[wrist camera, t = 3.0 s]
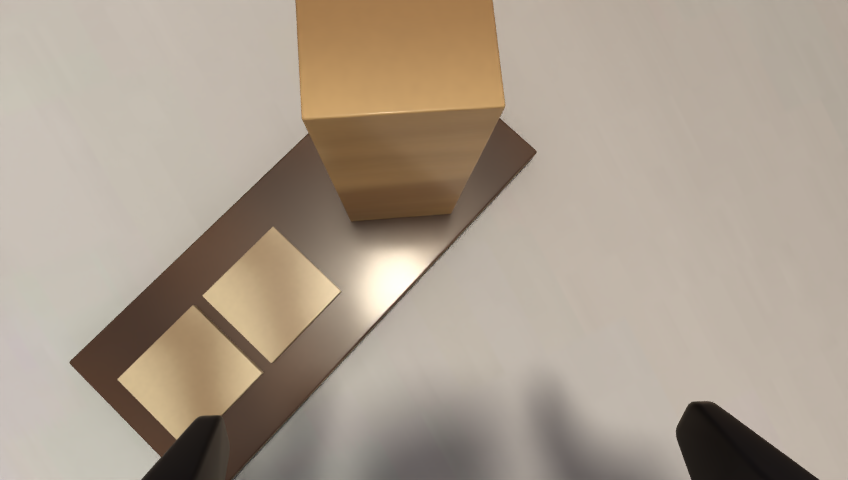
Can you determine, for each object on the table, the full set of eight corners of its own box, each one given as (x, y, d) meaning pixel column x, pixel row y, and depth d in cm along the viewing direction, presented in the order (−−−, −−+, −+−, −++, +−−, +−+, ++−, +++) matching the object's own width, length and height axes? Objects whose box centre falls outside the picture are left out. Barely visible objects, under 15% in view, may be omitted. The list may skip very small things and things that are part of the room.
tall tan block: (454, 213, 22) (511, 106, 11) (350, 221, 21) (301, 119, 10) (445, 118, 22) (489, -73, 11) (343, 125, 22) (291, -66, 11)
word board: (214, 498, 20) (204, 508, 19) (79, 361, 21) (62, 363, 19) (533, 156, 23) (540, 149, 22) (408, 45, 24) (408, 32, 22)
